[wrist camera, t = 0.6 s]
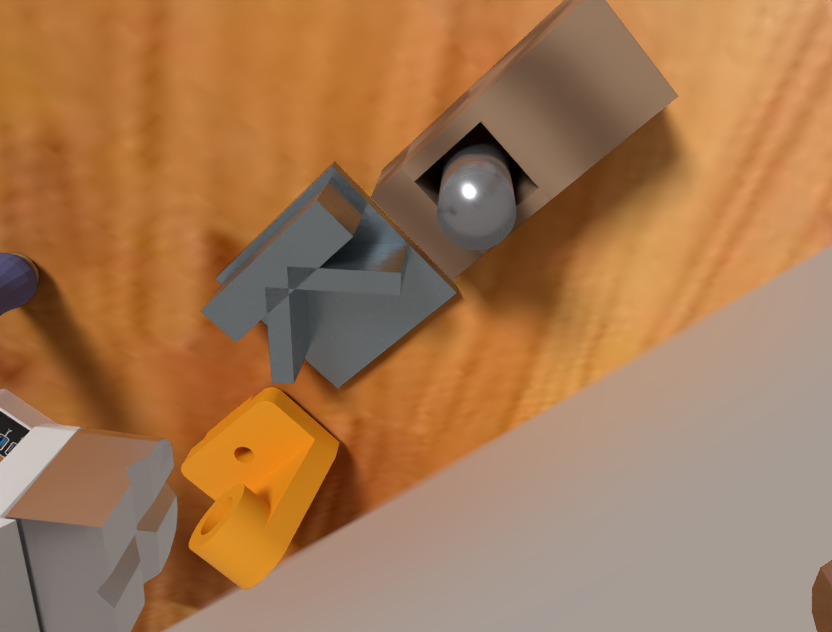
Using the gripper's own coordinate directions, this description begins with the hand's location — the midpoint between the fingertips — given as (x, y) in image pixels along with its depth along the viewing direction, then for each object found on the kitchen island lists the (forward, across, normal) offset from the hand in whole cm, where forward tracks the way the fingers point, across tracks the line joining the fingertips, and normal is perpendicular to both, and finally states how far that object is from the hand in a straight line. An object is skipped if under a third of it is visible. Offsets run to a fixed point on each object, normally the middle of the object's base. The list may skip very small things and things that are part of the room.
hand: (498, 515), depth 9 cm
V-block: (+39, +8, +15) cm, 42 cm away
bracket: (+40, +13, +30) cm, 51 cm away
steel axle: (+39, -1, +5) cm, 39 cm away
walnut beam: (+39, -3, +3) cm, 39 cm away
